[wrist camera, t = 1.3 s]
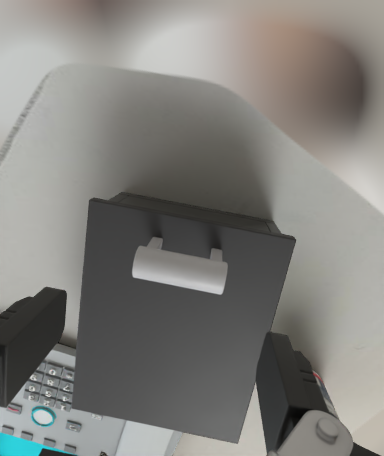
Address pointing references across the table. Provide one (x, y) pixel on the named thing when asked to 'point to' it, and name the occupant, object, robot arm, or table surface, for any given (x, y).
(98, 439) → the office telephone
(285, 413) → the robot arm
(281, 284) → the lid
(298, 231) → the table surface
